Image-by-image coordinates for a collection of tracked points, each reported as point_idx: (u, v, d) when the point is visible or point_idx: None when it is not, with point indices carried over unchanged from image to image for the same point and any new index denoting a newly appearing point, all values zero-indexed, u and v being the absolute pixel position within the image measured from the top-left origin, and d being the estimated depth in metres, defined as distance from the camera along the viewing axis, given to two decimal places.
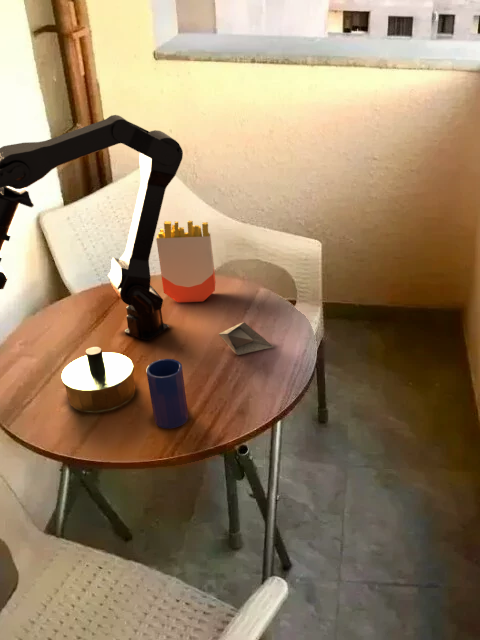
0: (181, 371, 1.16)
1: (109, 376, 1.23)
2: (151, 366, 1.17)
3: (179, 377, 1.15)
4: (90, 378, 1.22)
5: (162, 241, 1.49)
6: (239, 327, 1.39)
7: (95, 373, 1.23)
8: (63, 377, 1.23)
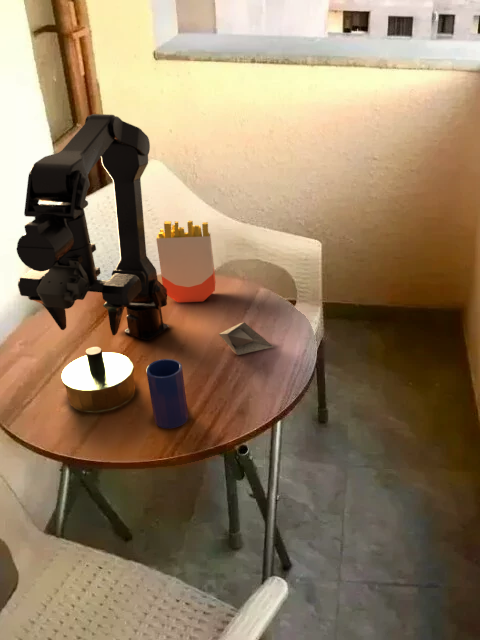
0: (181, 371, 1.16)
1: (109, 376, 1.23)
2: (151, 366, 1.17)
3: (179, 377, 1.15)
4: (90, 378, 1.22)
5: (162, 241, 1.49)
6: (239, 327, 1.39)
7: (95, 373, 1.23)
8: (63, 377, 1.23)
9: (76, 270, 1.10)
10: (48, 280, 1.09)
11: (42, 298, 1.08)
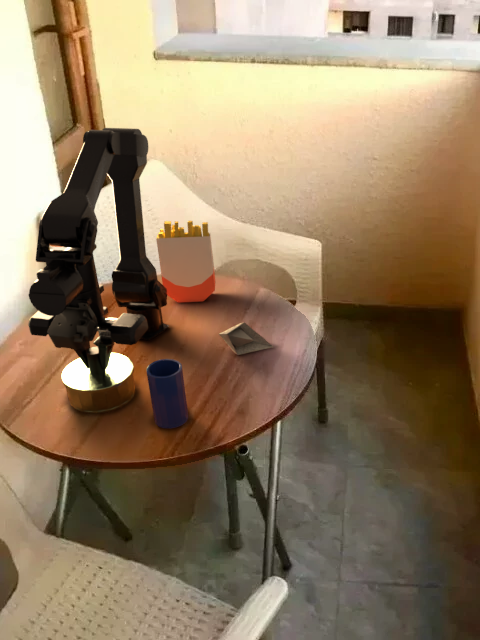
0: (181, 371, 1.16)
1: (109, 376, 1.23)
2: (151, 366, 1.17)
3: (179, 377, 1.15)
4: (90, 378, 1.22)
5: (162, 241, 1.49)
6: (239, 327, 1.39)
7: (95, 373, 1.23)
8: (63, 377, 1.23)
9: (85, 311, 1.14)
10: (58, 322, 1.13)
11: (52, 339, 1.12)
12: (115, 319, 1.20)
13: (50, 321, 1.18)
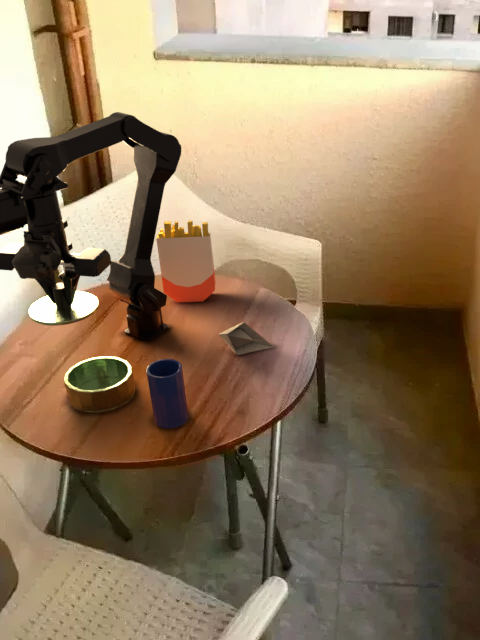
0: (181, 371, 1.16)
1: (74, 310, 1.27)
2: (151, 366, 1.17)
3: (179, 377, 1.15)
4: (56, 312, 1.27)
5: (162, 241, 1.49)
6: (239, 327, 1.39)
7: (61, 308, 1.28)
8: (30, 312, 1.27)
9: (49, 244, 1.19)
10: (23, 253, 1.17)
11: (17, 270, 1.17)
12: None
13: (16, 255, 1.23)
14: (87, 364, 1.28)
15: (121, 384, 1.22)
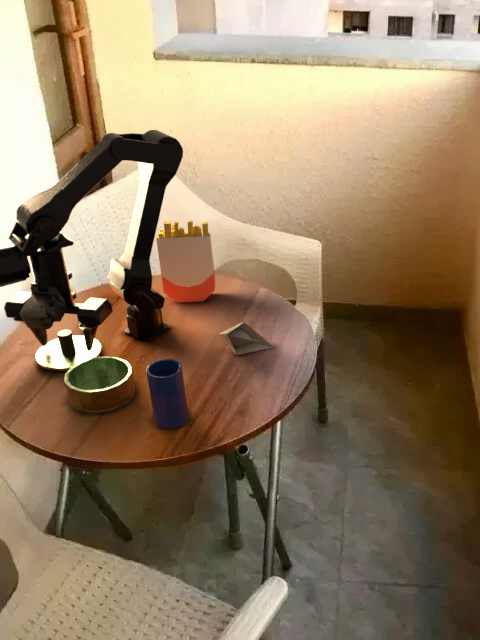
0: (181, 371, 1.16)
1: (78, 356, 1.36)
2: (151, 366, 1.17)
3: (179, 377, 1.15)
4: (61, 357, 1.35)
5: (162, 241, 1.49)
6: (239, 327, 1.39)
7: (66, 353, 1.36)
8: (37, 357, 1.36)
9: (54, 295, 1.27)
10: (30, 305, 1.26)
11: (24, 320, 1.25)
12: None
13: (23, 305, 1.31)
14: (87, 364, 1.28)
15: (121, 384, 1.22)
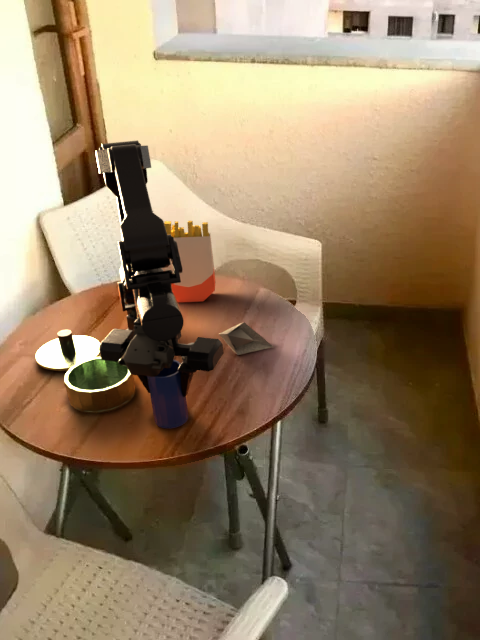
0: None
1: (78, 356, 1.36)
2: None
3: (179, 377, 1.15)
4: (61, 357, 1.35)
5: None
6: (239, 327, 1.39)
7: (66, 353, 1.36)
8: (37, 357, 1.36)
9: None
10: (134, 348, 1.07)
11: (129, 366, 1.06)
12: None
13: (122, 346, 1.12)
14: (87, 364, 1.28)
15: (121, 384, 1.22)
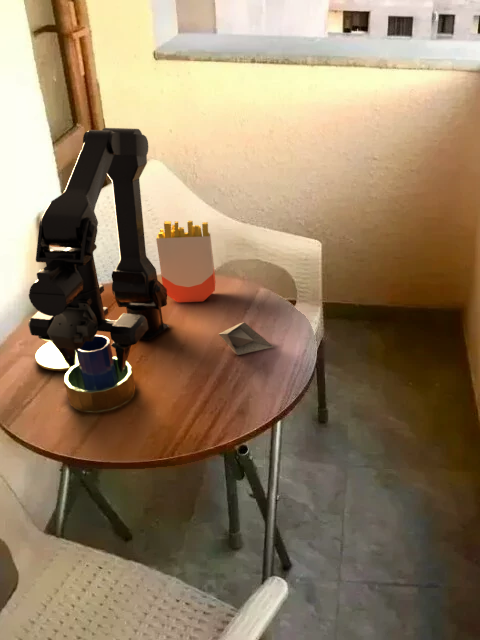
0: (108, 346, 1.21)
1: None
2: None
3: (106, 352, 1.21)
4: (61, 357, 1.35)
5: (162, 241, 1.49)
6: (239, 327, 1.39)
7: None
8: (37, 357, 1.36)
9: (85, 312, 1.14)
10: (58, 322, 1.13)
11: (53, 340, 1.12)
12: None
13: (50, 321, 1.18)
14: None
15: (121, 384, 1.22)
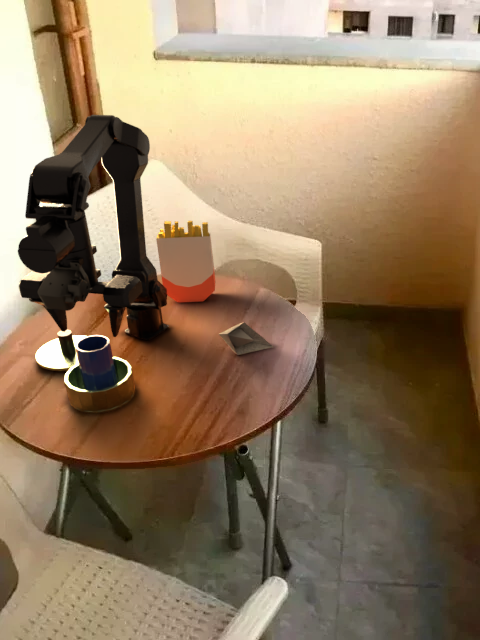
0: (108, 346, 1.21)
1: None
2: (80, 342, 1.22)
3: (106, 352, 1.21)
4: (61, 357, 1.35)
5: (162, 241, 1.49)
6: (239, 327, 1.39)
7: (66, 353, 1.36)
8: (37, 357, 1.36)
9: (77, 271, 1.10)
10: (49, 282, 1.09)
11: (43, 300, 1.08)
12: None
13: (41, 283, 1.14)
14: None
15: (121, 384, 1.22)
